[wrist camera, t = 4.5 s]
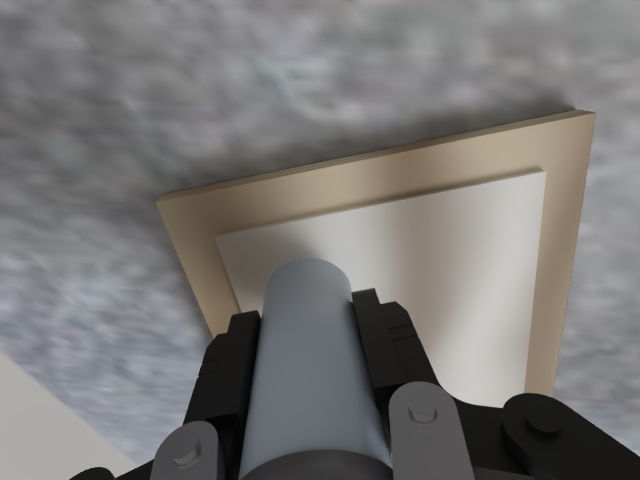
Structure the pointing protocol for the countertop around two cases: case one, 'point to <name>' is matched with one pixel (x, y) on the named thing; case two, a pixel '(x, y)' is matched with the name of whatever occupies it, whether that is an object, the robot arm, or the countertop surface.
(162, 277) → the countertop surface
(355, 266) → the drawing board
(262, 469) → the marker
